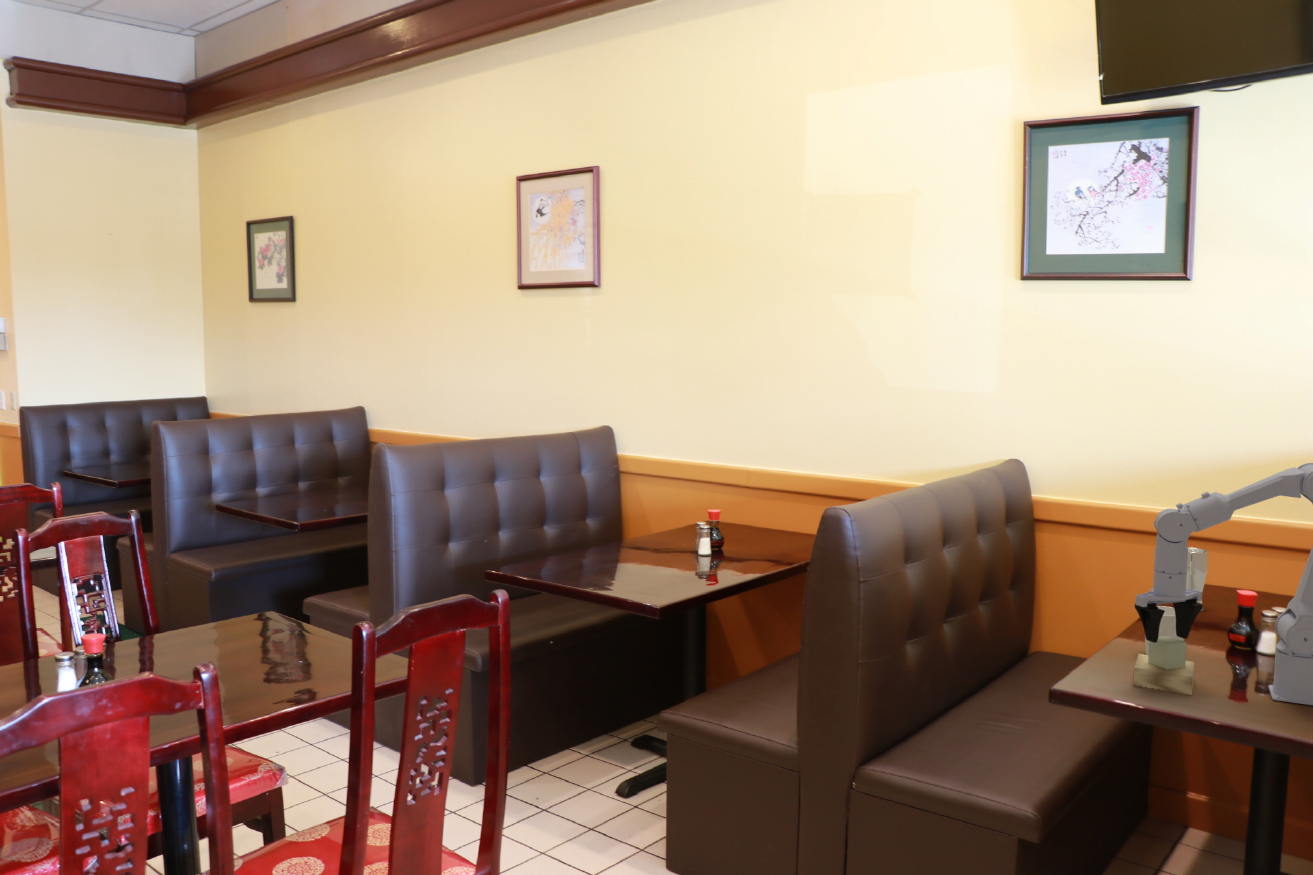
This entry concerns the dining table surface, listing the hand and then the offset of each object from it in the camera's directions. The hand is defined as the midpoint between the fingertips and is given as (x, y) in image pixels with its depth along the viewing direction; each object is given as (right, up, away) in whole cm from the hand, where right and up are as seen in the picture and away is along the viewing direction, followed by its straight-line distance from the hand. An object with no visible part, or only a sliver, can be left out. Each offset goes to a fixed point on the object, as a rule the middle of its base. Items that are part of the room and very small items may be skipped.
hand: (1166, 639), depth 194 cm
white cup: (+8, -7, +17) cm, 20 cm away
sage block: (0, -5, 0) cm, 5 cm away
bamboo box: (0, -9, +1) cm, 9 cm away
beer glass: (+34, -4, +55) cm, 65 cm away
